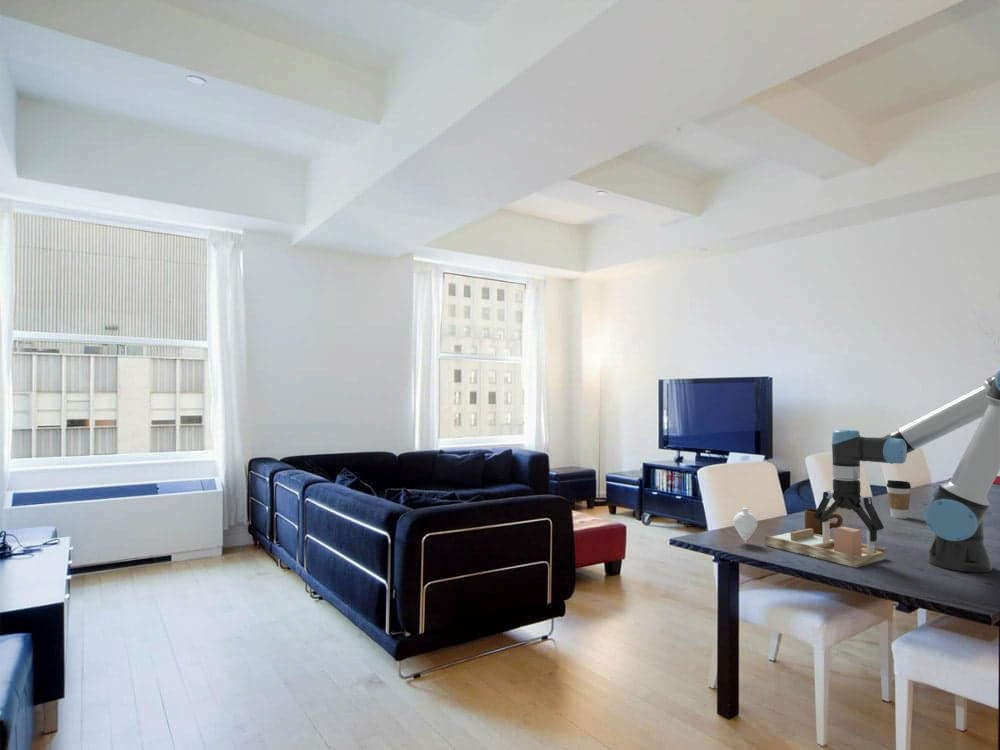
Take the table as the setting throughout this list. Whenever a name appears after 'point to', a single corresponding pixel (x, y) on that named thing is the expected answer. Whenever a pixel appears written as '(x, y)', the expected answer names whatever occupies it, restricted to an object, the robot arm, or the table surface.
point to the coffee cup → (899, 498)
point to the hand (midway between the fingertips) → (847, 546)
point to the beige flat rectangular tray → (828, 551)
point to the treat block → (848, 541)
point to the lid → (804, 537)
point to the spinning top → (745, 523)
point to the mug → (815, 523)
